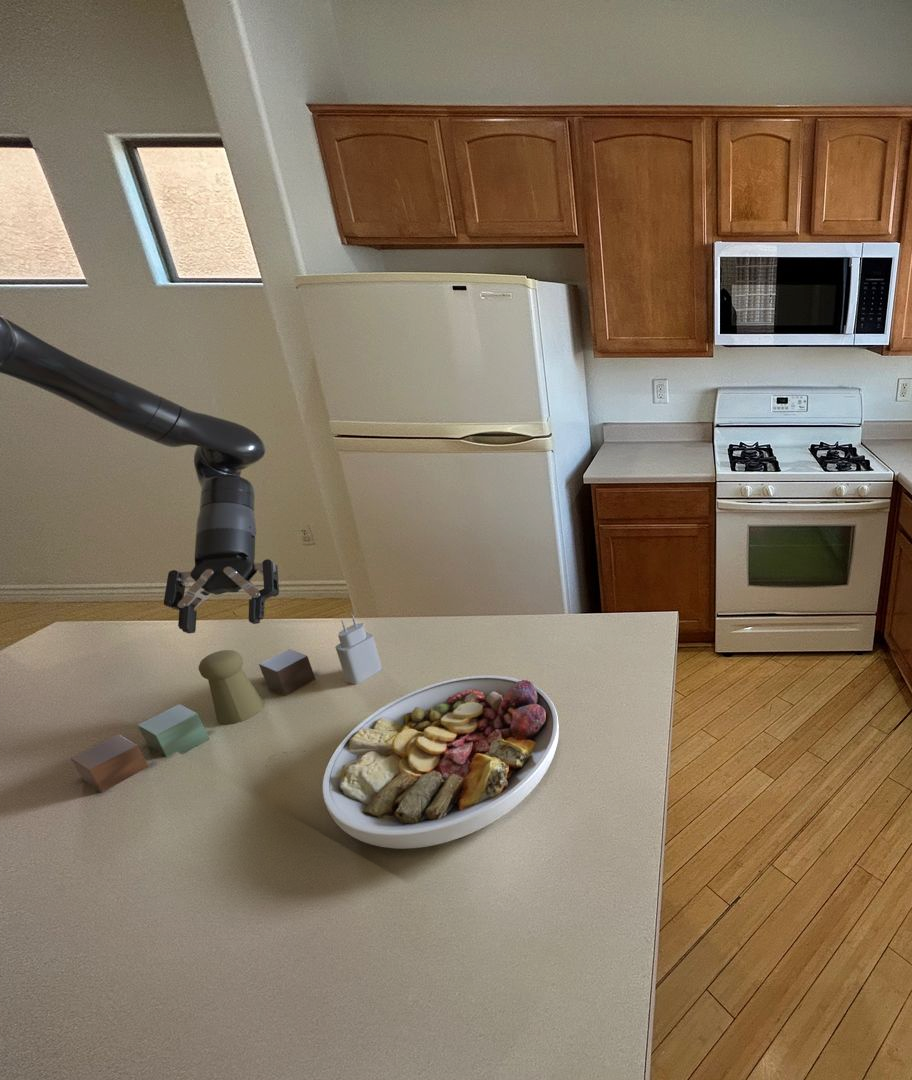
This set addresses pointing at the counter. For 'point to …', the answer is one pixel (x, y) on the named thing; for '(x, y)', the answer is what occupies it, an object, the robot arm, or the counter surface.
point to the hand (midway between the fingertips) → (222, 627)
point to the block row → (177, 728)
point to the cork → (230, 687)
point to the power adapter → (357, 653)
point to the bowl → (441, 761)
